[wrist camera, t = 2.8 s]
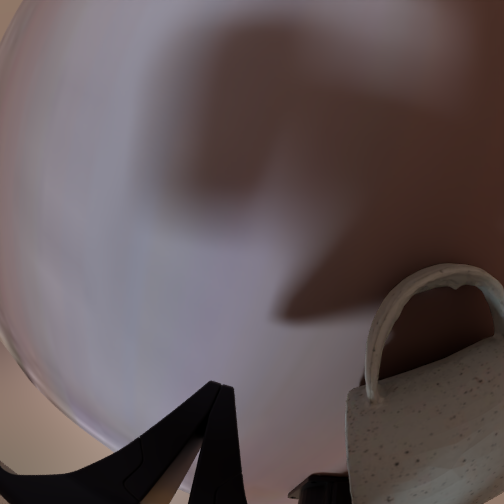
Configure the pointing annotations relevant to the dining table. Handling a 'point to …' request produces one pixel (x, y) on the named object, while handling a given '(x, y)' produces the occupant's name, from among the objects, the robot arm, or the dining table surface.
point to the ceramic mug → (430, 410)
